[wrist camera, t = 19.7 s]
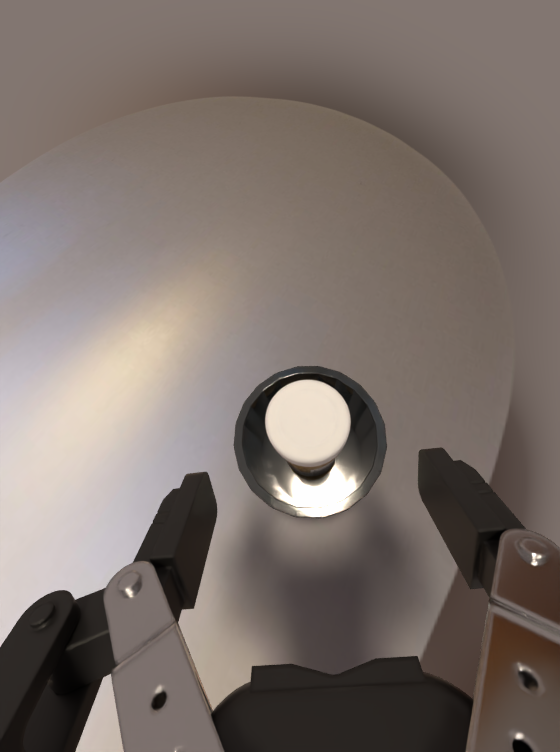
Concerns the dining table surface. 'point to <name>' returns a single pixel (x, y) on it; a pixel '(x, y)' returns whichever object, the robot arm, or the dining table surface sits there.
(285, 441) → the sprinkles bottle
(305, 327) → the dining table surface
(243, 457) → the dark gray cylindrical container
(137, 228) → the dining table surface
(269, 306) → the dining table surface
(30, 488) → the dining table surface
